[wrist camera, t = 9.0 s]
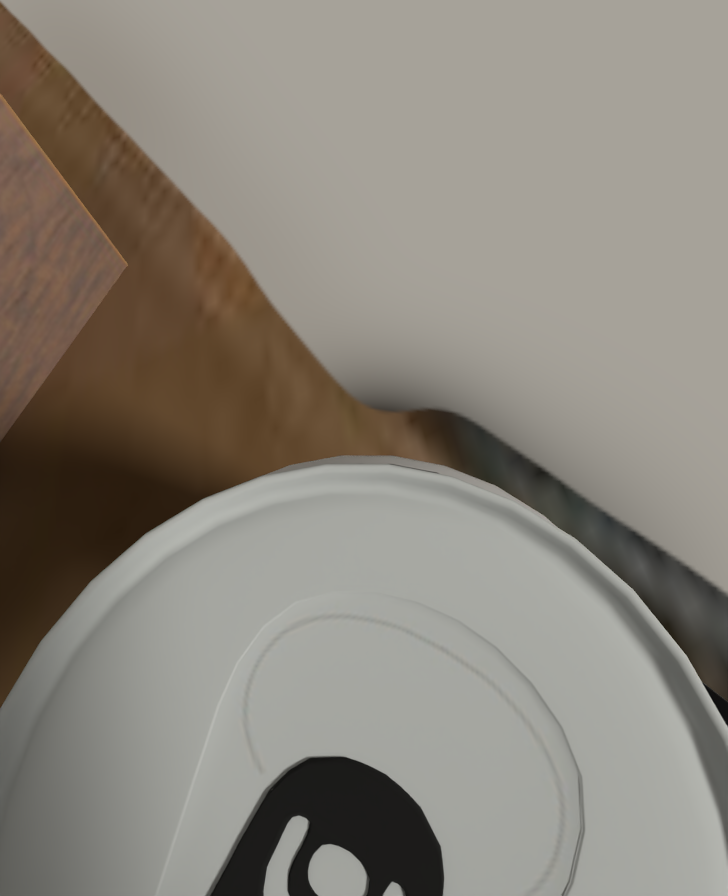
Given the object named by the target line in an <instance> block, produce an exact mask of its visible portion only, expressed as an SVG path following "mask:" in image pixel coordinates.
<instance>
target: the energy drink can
mask: <svg viewBox="0 0 728 896" xmlns="http://www.w3.org/2000/svg"><path fill="white" fill-rule="evenodd" d="M0 896H728V727H727V725H726V723H725V722H724V720H723V718H722V716H721V715H720V713H719V711H718V710H717V708H716V706H715V704H714V703H713V701H712V699H711V697H710V696H709V694H708V692H707V690H706V689H705V687H704V685H703V684H702V682H701V680H700V678H699V677H698V675H697V673H696V671H695V670H694V668H693V666H692V665H691V663H690V661H689V659H688V658H687V656H686V655H685V653H684V652H683V651H682V650H681V648H680V647H679V646H678V645H677V643H676V642H675V641H674V640H673V638H672V637H671V636H670V635H669V633H668V632H667V631H666V630H665V629H664V627H663V626H662V625H661V624H660V622H659V621H658V620H657V619H656V617H655V616H654V615H653V614H652V612H651V611H650V610H649V609H648V608H647V606H646V605H645V604H644V603H643V601H642V600H641V599H640V598H639V596H638V595H637V594H636V593H635V591H634V590H633V589H632V588H631V587H629V586H628V585H627V584H626V583H625V582H624V581H623V580H621V579H620V578H619V577H618V576H617V575H616V574H615V573H614V572H612V571H611V570H610V569H609V568H608V567H607V566H606V565H605V564H603V563H602V562H601V561H600V560H599V559H598V558H597V557H596V556H594V555H593V554H592V553H591V552H590V551H589V550H588V549H587V548H585V547H584V546H583V545H582V544H581V543H580V542H579V541H578V540H576V539H575V538H574V537H572V536H570V535H569V534H567V533H565V532H564V531H562V530H561V529H559V528H557V527H556V526H555V525H554V524H553V523H552V522H550V521H549V520H548V519H547V518H546V517H545V516H543V515H542V514H540V513H539V512H537V511H535V510H534V509H532V508H531V507H529V506H527V505H526V504H524V503H523V502H521V501H519V500H518V499H516V498H514V497H513V496H511V495H510V494H508V493H506V492H505V491H503V490H502V489H500V488H498V487H497V486H495V485H492V484H490V483H487V482H485V481H482V480H480V479H477V478H475V477H472V476H469V475H467V474H464V473H462V472H459V471H457V470H454V469H452V468H449V467H446V466H443V465H438V464H433V463H427V462H422V461H417V460H412V459H407V458H402V457H396V456H337V457H332V458H326V459H321V460H316V461H310V462H305V463H299V464H294V465H290V466H287V467H284V468H282V469H279V470H277V471H274V472H271V473H269V474H266V475H263V476H260V477H258V478H255V479H253V480H250V481H247V482H245V483H242V484H240V485H237V486H235V487H232V488H229V489H227V490H224V491H222V492H219V493H216V494H214V495H211V496H209V497H206V498H203V499H202V500H200V501H198V502H197V503H195V504H194V505H192V506H190V507H189V508H187V509H185V510H184V511H182V512H180V513H179V514H177V515H175V516H174V517H172V518H170V519H169V520H167V521H165V522H164V523H162V524H161V525H159V526H157V527H156V528H154V529H152V530H151V531H149V532H147V533H146V534H144V535H143V536H142V537H141V538H140V539H139V540H138V541H136V542H135V543H134V544H133V545H132V546H131V547H130V548H128V549H127V550H126V551H125V552H124V553H123V554H121V555H120V556H119V557H118V558H117V559H116V560H115V561H113V562H112V563H111V564H110V565H109V566H108V567H107V568H105V569H104V570H103V571H102V572H101V573H100V574H98V575H97V576H96V577H95V578H94V579H93V580H92V581H91V582H90V583H89V584H88V585H87V586H86V588H85V589H84V590H83V591H82V592H81V594H80V595H79V596H78V597H77V598H76V600H75V601H74V602H73V603H72V604H71V606H70V607H69V608H68V609H67V610H66V612H65V613H64V614H63V615H62V616H61V618H60V619H59V620H58V621H57V622H56V624H55V625H54V626H53V627H52V628H51V630H50V631H49V632H48V633H47V634H46V636H45V637H44V638H43V639H42V640H41V642H40V643H39V645H38V647H37V648H36V650H35V652H34V653H33V655H32V657H31V658H30V660H29V662H28V663H27V665H26V667H25V668H24V670H23V672H22V673H21V675H20V677H19V678H18V680H17V682H16V683H15V685H14V687H13V688H12V690H11V692H10V693H9V695H8V697H7V698H6V700H5V702H4V703H3V705H2V707H1V708H0Z"/></svg>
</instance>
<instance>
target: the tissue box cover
mask: <svg viewBox="0 0 728 896" xmlns="http://www.w3.org/2000/svg"><path fill="white" fill-rule="evenodd" d="M127 265H128V264H127V262H126V261H125V260H124V258H123V257H122V256H121V254H120V253H119V252H118V250H117V249H116V248H115V246H114V245H113V244H112V242H111V241H110V240H109V238H108V237H107V236H106V234H105V233H104V232H103V230H102V229H101V228H100V226H99V225H98V224H97V222H96V221H95V220H94V218H93V217H92V216H91V214H90V213H89V212H88V210H87V209H86V208H85V206H84V205H83V204H82V202H81V201H80V200H79V198H78V197H77V196H76V194H75V193H74V192H73V190H72V189H71V187H70V186H69V185H68V183H67V182H66V181H65V179H64V178H63V177H62V175H61V174H60V173H59V171H58V170H57V169H56V167H55V166H54V165H53V163H52V162H51V161H50V159H49V158H48V157H47V155H46V154H45V153H44V151H43V150H42V149H41V147H40V146H39V145H38V143H37V142H36V141H35V139H34V138H33V137H32V135H31V134H30V133H29V131H28V130H27V129H26V127H25V126H24V125H23V123H22V122H21V121H20V119H19V118H18V117H17V115H16V114H15V113H14V111H13V110H12V108H11V107H10V106H9V104H8V103H7V102H6V100H5V99H4V98H3V96H2V95H1V94H0V442H1V440H2V439H3V438H4V436H5V435H6V434H7V432H8V431H9V429H10V428H11V427H12V425H13V424H14V422H15V421H16V420H17V418H18V417H19V415H20V414H21V413H22V411H23V410H24V408H25V407H26V406H27V404H28V403H29V402H30V400H31V399H32V397H33V396H34V395H35V393H36V392H37V390H38V389H39V388H40V386H41V385H42V383H43V382H44V381H45V379H46V378H47V377H48V375H49V374H50V372H51V371H52V370H53V368H54V367H55V365H56V364H57V363H58V361H59V360H60V358H61V357H62V356H63V354H64V353H65V351H66V350H67V349H68V347H69V346H70V345H71V343H72V342H73V340H74V339H75V338H76V336H77V335H78V333H79V332H80V331H81V329H82V328H83V326H84V325H85V324H86V322H87V321H88V319H89V318H90V317H91V315H92V314H93V313H94V311H95V310H96V308H97V307H98V306H99V304H100V303H101V301H102V300H103V299H104V297H105V296H106V294H107V293H108V292H109V290H110V289H111V287H112V286H113V285H114V283H115V282H116V281H117V279H118V278H119V276H120V275H121V274H122V272H123V271H124V269H125V268H126V267H127Z"/></svg>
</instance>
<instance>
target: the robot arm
mask: <svg viewBox="0 0 728 896" xmlns="http://www.w3.org/2000/svg"><path fill="white" fill-rule="evenodd" d="M702 684H703V685H704V687H705V689H706V690H707V692H708V694H709V696H710V697H711V699H712V701H713V703H714V704H715V706H716V708H717V710H718V711H719V713H720V715H721V716H722V718H723V720H724V722H725V723H726V725H727V727H728V701H726V700H725V699H724V698H722V697H721V696H720V695H718V694H717V693H716V692H714V691H713V690H712V689H711V688H709V687H708V686H707V685H705V684H704V683H703V682H702Z"/></svg>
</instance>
